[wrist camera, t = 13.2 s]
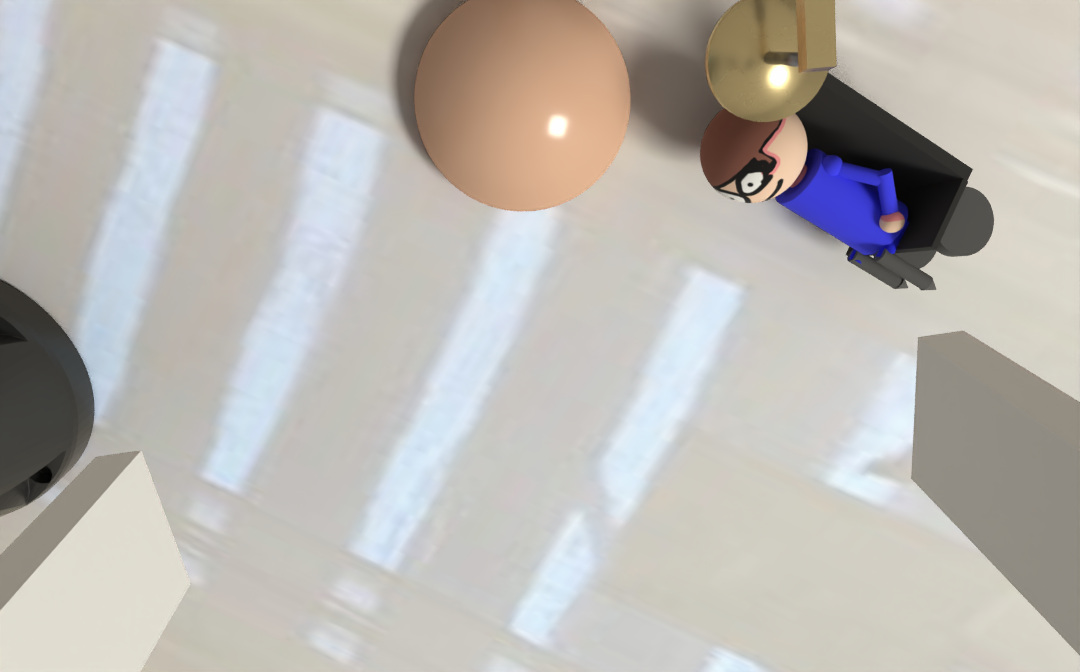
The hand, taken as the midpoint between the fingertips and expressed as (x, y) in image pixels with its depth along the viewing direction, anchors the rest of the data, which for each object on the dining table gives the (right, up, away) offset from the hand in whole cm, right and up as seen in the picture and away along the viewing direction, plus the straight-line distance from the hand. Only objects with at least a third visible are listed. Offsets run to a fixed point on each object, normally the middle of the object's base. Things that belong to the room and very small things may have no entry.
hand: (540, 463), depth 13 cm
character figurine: (+15, +11, +29) cm, 35 cm away
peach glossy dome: (-1, +14, +27) cm, 31 cm away
